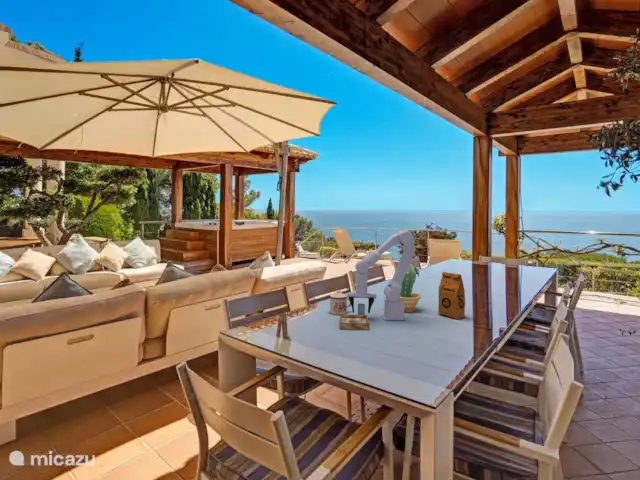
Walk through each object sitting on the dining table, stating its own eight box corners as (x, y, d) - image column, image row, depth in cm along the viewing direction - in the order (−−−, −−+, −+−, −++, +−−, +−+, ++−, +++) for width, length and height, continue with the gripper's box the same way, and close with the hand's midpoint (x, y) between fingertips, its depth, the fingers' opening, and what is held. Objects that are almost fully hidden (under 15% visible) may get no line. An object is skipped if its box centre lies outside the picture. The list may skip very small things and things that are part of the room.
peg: (364, 317, 184) (364, 303, 184) (364, 319, 181) (365, 305, 180) (357, 317, 184) (357, 303, 184) (357, 319, 181) (358, 305, 181)
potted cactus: (420, 314, 190) (421, 266, 188) (390, 312, 194) (390, 265, 192) (420, 307, 205) (421, 262, 203) (392, 305, 209) (393, 261, 207)
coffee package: (454, 320, 179) (456, 275, 178) (435, 314, 190) (436, 272, 188) (468, 317, 184) (469, 274, 183) (448, 311, 195) (449, 270, 193)
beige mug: (332, 315, 187) (333, 293, 186) (327, 311, 196) (327, 289, 195) (354, 313, 191) (355, 291, 190) (348, 309, 199) (348, 288, 198)
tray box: (367, 321, 178) (367, 315, 177) (369, 329, 165) (369, 323, 164) (339, 320, 178) (340, 314, 178) (339, 329, 165) (339, 322, 165)
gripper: (375, 284, 185) (375, 310, 186) (346, 283, 186) (346, 309, 187) (377, 286, 178) (376, 314, 179) (346, 286, 179) (346, 313, 180)
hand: (361, 312), depth 182 cm, fingers open, 7 cm apart
